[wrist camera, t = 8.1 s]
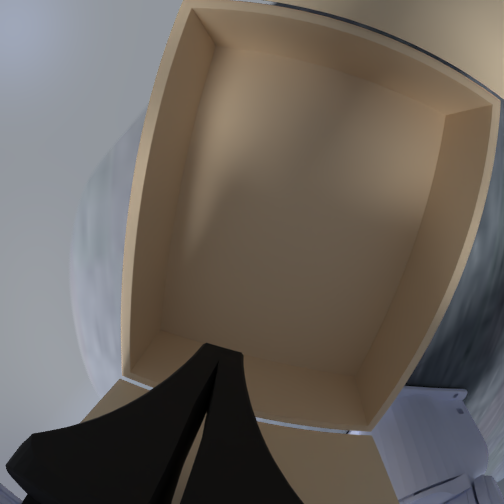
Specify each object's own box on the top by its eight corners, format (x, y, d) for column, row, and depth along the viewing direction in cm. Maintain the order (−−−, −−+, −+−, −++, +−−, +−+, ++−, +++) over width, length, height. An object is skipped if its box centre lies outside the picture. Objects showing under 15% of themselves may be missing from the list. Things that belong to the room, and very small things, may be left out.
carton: (449, 112, 12) (500, 100, 7) (356, 378, 18) (371, 431, 13) (211, 41, 13) (183, -1, 8) (155, 329, 18) (122, 375, 13)
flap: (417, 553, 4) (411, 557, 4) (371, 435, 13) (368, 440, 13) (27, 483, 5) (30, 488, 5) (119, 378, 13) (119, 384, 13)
